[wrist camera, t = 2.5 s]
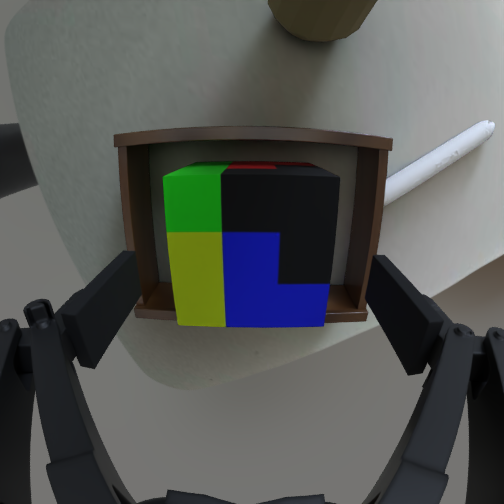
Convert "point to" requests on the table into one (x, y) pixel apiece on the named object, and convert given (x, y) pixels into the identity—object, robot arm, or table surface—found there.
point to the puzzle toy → (251, 242)
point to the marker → (436, 160)
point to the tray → (369, 146)
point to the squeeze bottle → (321, 17)
